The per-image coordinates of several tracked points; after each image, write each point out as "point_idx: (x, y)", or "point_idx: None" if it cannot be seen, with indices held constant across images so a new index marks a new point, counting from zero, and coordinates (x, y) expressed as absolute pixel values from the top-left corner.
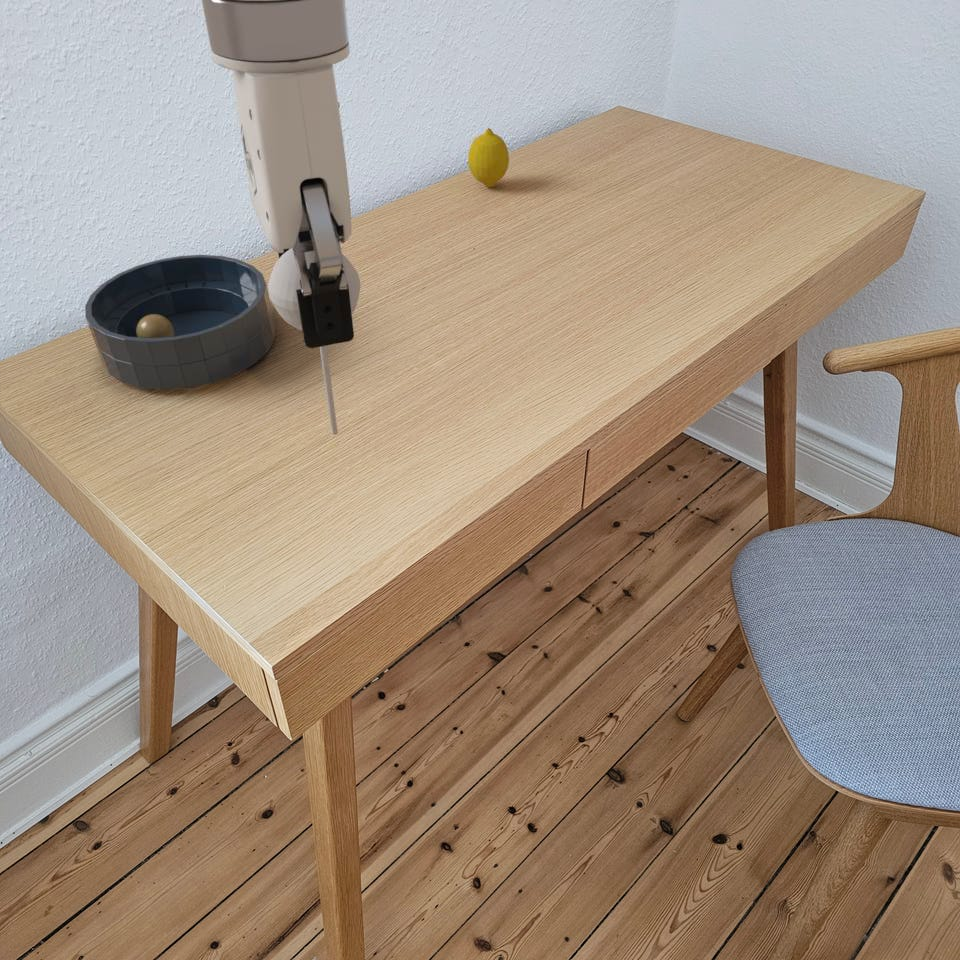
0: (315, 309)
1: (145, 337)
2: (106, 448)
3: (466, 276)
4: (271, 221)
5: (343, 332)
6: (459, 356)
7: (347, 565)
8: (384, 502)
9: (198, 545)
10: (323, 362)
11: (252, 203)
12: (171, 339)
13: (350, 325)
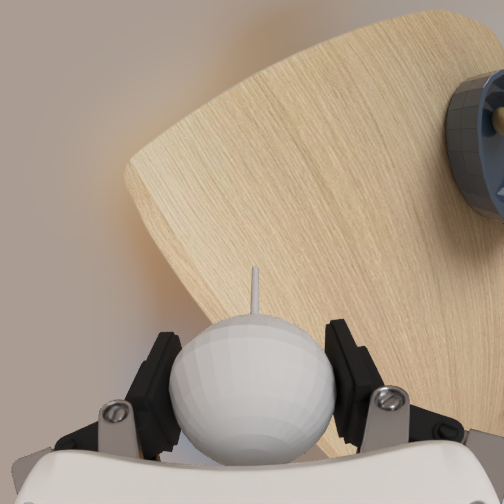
0: (127, 393)
1: (498, 111)
2: (386, 55)
3: (478, 361)
4: (16, 502)
5: None
6: (404, 351)
7: (184, 232)
8: (248, 271)
9: (237, 116)
10: (250, 313)
11: (391, 460)
12: (477, 126)
13: None
